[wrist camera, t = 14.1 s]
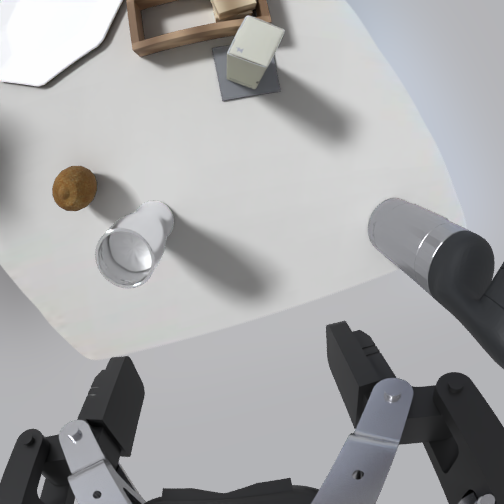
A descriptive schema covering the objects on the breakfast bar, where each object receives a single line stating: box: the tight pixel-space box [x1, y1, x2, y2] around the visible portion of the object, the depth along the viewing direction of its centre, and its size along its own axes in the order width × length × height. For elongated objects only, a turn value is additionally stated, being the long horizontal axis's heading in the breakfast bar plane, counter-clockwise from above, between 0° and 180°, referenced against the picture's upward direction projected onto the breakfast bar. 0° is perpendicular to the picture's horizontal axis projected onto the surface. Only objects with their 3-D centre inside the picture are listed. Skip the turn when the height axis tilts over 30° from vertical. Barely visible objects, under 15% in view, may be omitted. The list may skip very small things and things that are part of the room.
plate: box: [0, 0, 124, 87], centre depth 29 cm, size 28×28×2 cm
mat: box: [212, 45, 281, 101], centre depth 37 cm, size 8×8×1 cm
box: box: [227, 15, 285, 89], centre depth 31 cm, size 5×4×13 cm
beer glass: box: [95, 200, 174, 288], centre depth 37 cm, size 7×7×15 cm
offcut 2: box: [212, 5, 253, 23], centre depth 33 cm, size 5×5×2 cm
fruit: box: [52, 166, 97, 211], centre depth 37 cm, size 6×6×8 cm
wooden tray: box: [126, 0, 271, 57], centre depth 32 cm, size 18×9×4 cm, turn 100°
